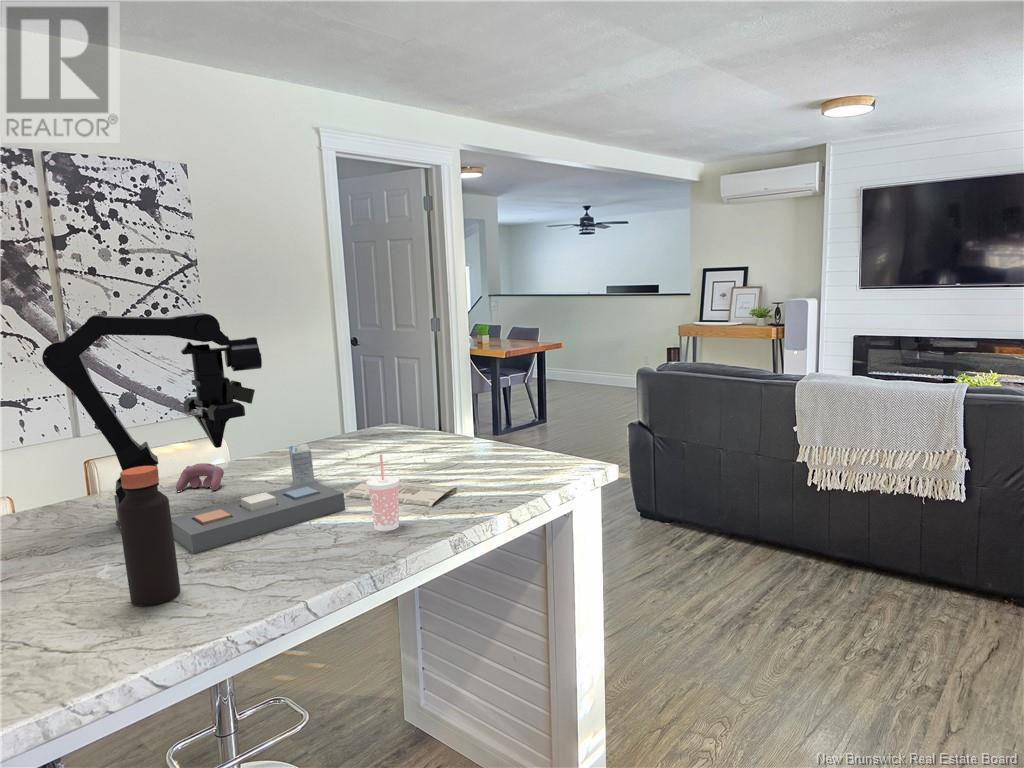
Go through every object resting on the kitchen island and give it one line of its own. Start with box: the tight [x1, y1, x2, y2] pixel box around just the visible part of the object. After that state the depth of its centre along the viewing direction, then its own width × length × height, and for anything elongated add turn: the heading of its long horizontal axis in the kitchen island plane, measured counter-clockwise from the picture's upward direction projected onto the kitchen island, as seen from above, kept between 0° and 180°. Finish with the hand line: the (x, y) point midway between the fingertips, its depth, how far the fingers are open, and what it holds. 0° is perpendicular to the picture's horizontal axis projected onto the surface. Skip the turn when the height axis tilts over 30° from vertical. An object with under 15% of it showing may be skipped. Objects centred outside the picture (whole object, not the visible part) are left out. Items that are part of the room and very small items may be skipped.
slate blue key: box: [285, 487, 319, 500], centre depth 142 cm, size 5×5×3 cm
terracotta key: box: [194, 509, 231, 525], centre depth 130 cm, size 5×5×3 cm
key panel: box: [171, 480, 346, 555], centre depth 137 cm, size 30×13×4 cm, turn 133°
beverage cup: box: [366, 454, 400, 532], centre depth 130 cm, size 6×6×14 cm
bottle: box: [118, 466, 181, 607], centre depth 104 cm, size 7×7×20 cm
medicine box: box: [288, 443, 315, 486], centre depth 161 cm, size 8×4×9 cm, turn 22°
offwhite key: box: [240, 491, 277, 512], centre depth 136 cm, size 5×5×3 cm
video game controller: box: [175, 462, 225, 492], centre depth 162 cm, size 10×5×7 cm, turn 85°
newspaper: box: [345, 478, 458, 508], centre depth 151 cm, size 23×12×2 cm, turn 65°
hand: (217, 447), depth 146 cm, fingers closed
